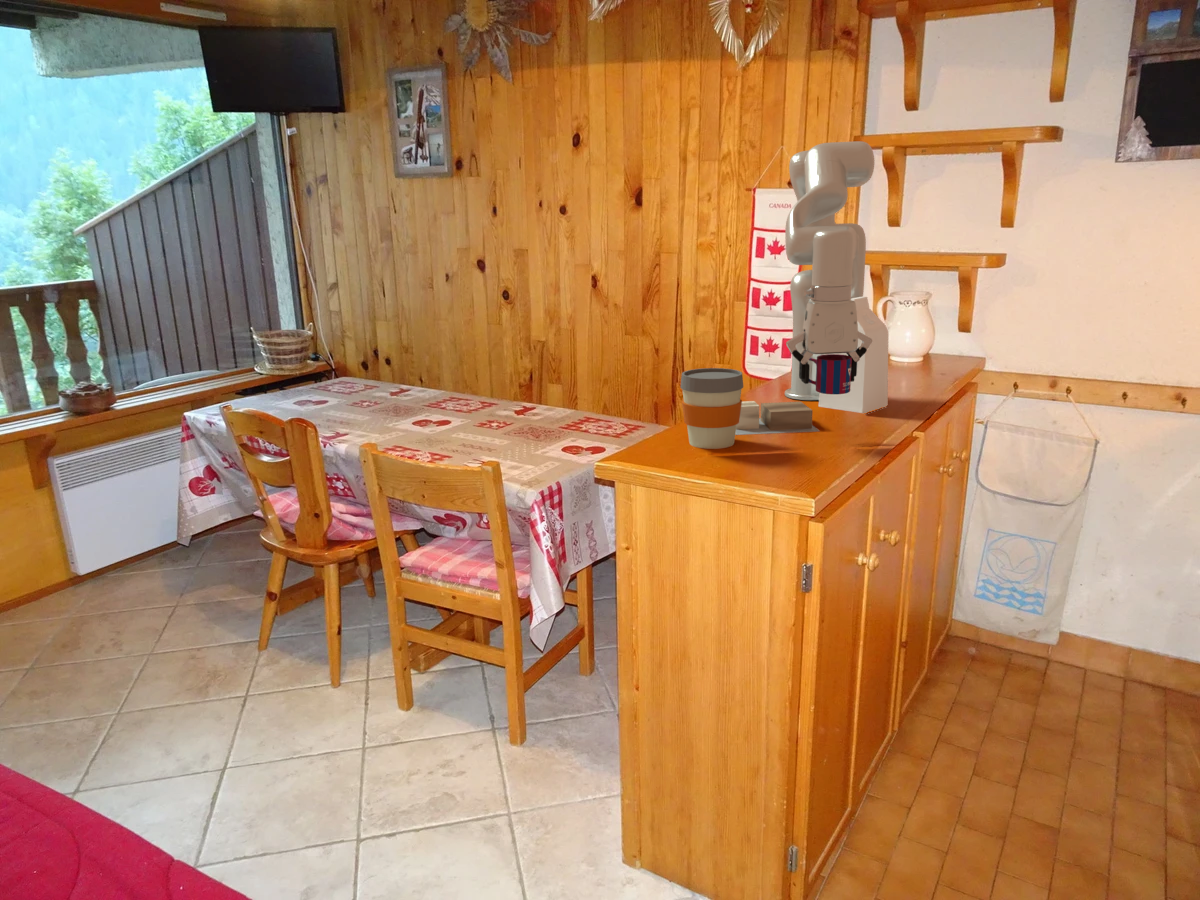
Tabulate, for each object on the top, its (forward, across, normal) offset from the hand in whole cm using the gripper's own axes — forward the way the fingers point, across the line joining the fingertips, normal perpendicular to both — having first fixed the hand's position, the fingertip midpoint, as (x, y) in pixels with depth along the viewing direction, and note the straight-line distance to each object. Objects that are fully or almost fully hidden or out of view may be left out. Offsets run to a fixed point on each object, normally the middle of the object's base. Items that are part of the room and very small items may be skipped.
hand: (827, 381), depth 170 cm
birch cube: (+12, -14, +13) cm, 22 cm away
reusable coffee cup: (+13, -23, 0) cm, 27 cm away
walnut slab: (+12, -5, +13) cm, 18 cm away
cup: (+2, 0, 0) cm, 2 cm away
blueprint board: (+13, -8, +13) cm, 20 cm away
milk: (+14, +16, +29) cm, 36 cm away
